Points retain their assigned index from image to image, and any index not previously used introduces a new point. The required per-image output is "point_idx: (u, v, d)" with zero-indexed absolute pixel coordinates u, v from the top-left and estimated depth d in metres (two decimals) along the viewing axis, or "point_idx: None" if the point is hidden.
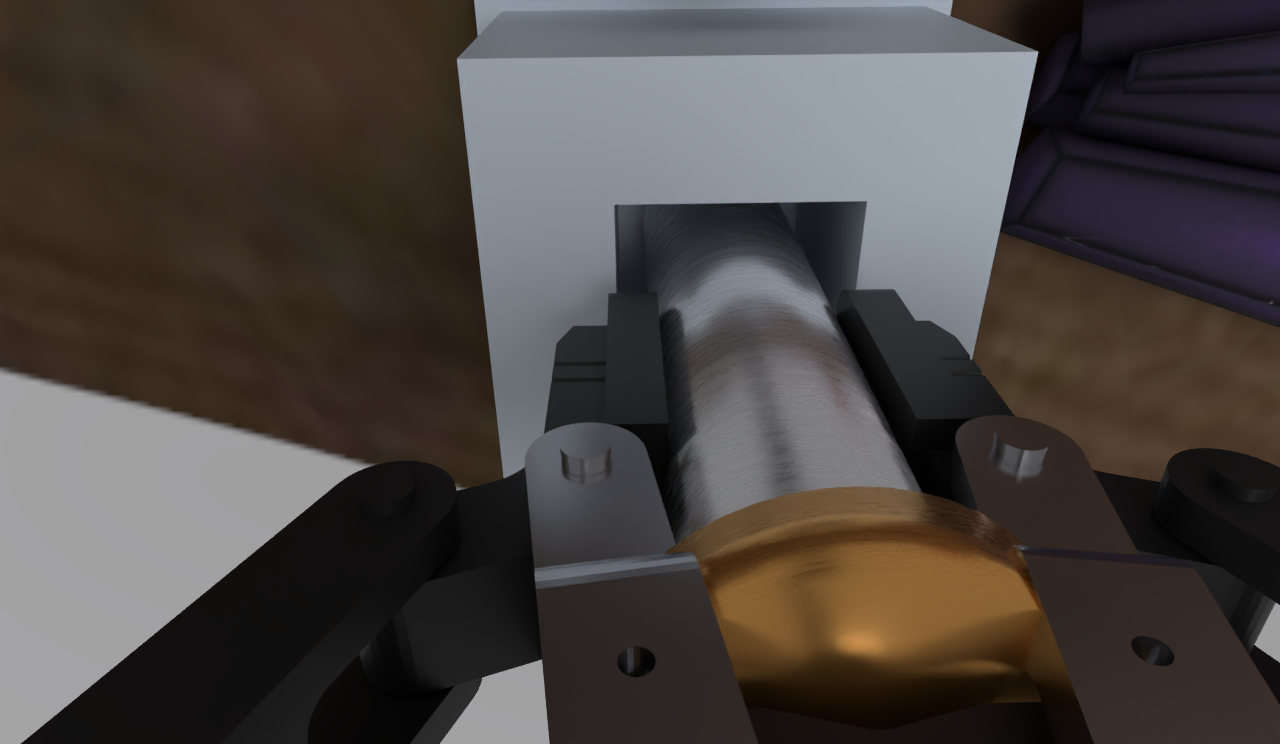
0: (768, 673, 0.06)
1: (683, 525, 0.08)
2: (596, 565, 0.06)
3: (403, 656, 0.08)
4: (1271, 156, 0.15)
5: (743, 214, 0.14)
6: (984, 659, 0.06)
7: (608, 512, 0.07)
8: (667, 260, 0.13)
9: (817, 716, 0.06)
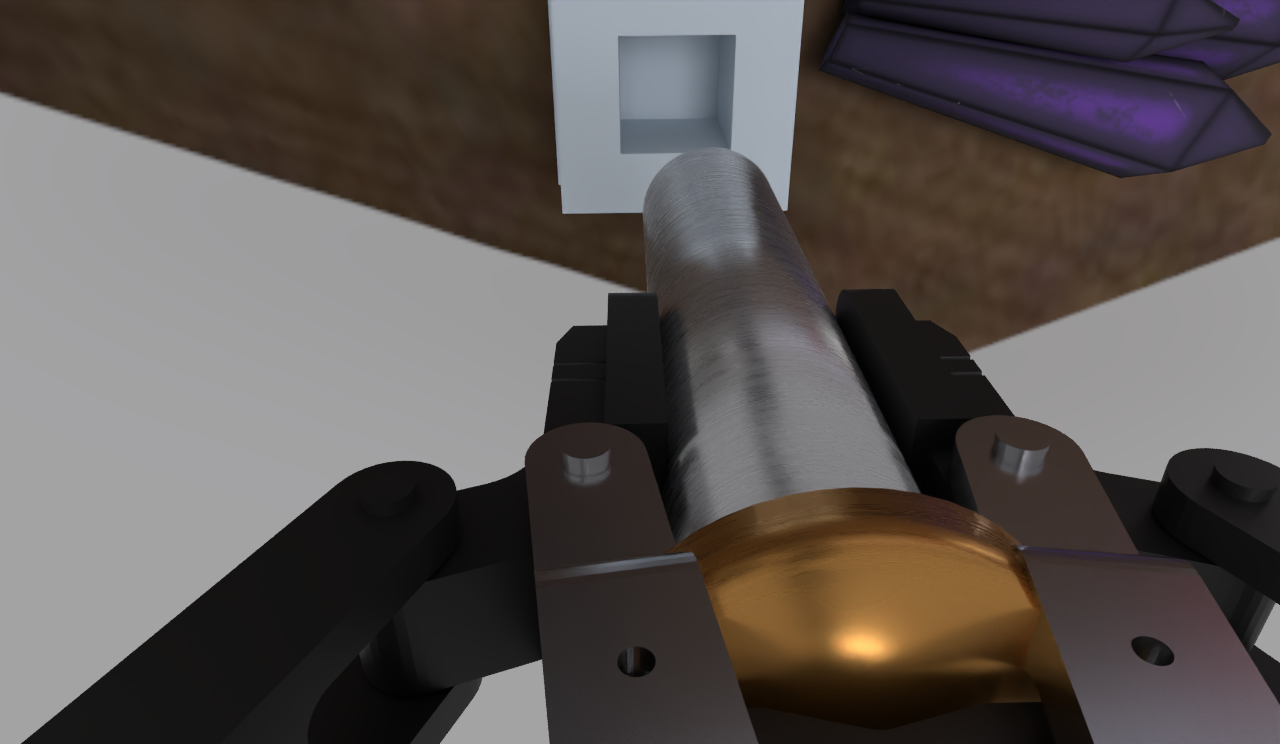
0: (767, 673, 0.06)
1: (683, 525, 0.08)
2: (596, 565, 0.06)
3: (403, 656, 0.08)
4: (949, 22, 0.29)
5: (743, 215, 0.14)
6: (982, 659, 0.06)
7: (608, 512, 0.07)
8: (668, 261, 0.13)
9: (816, 716, 0.06)
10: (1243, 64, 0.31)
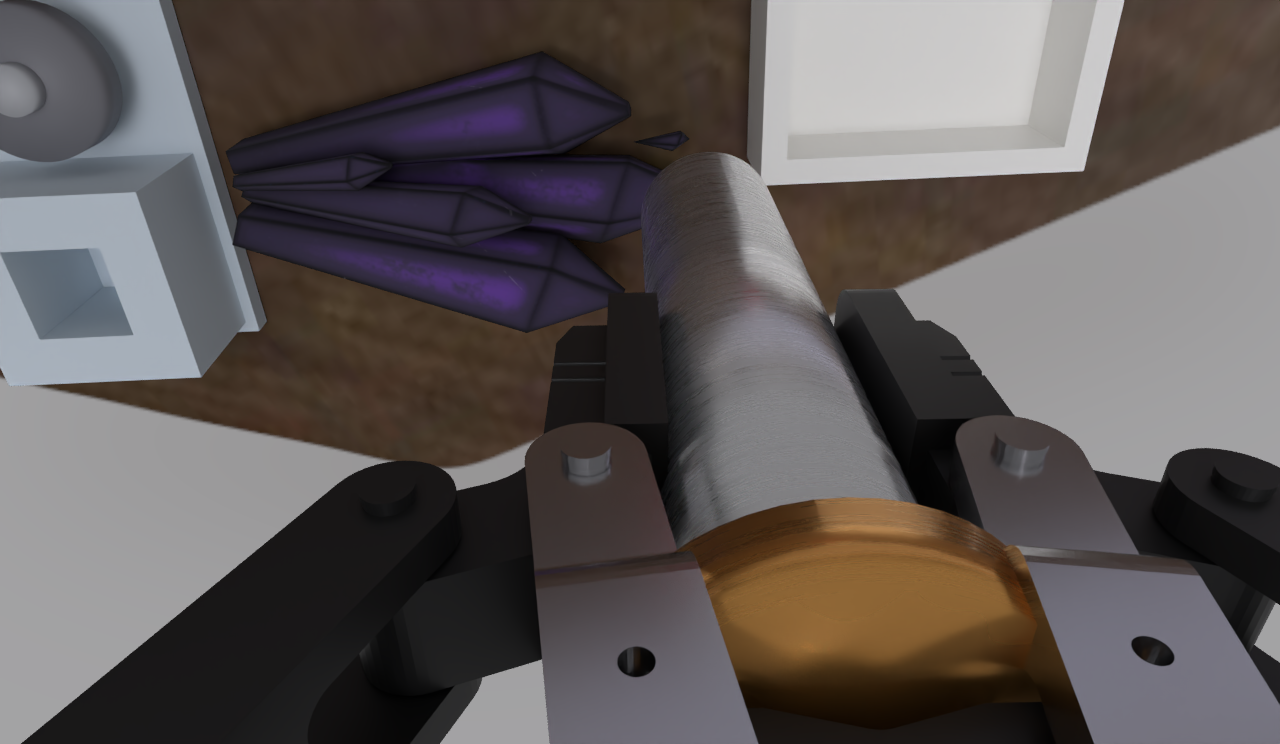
0: (761, 683, 0.06)
1: (679, 534, 0.08)
2: (596, 565, 0.06)
3: (403, 656, 0.08)
4: (317, 214, 0.34)
5: (740, 221, 0.14)
6: (975, 669, 0.06)
7: (608, 512, 0.07)
8: (665, 267, 0.13)
9: None
10: (602, 233, 0.36)
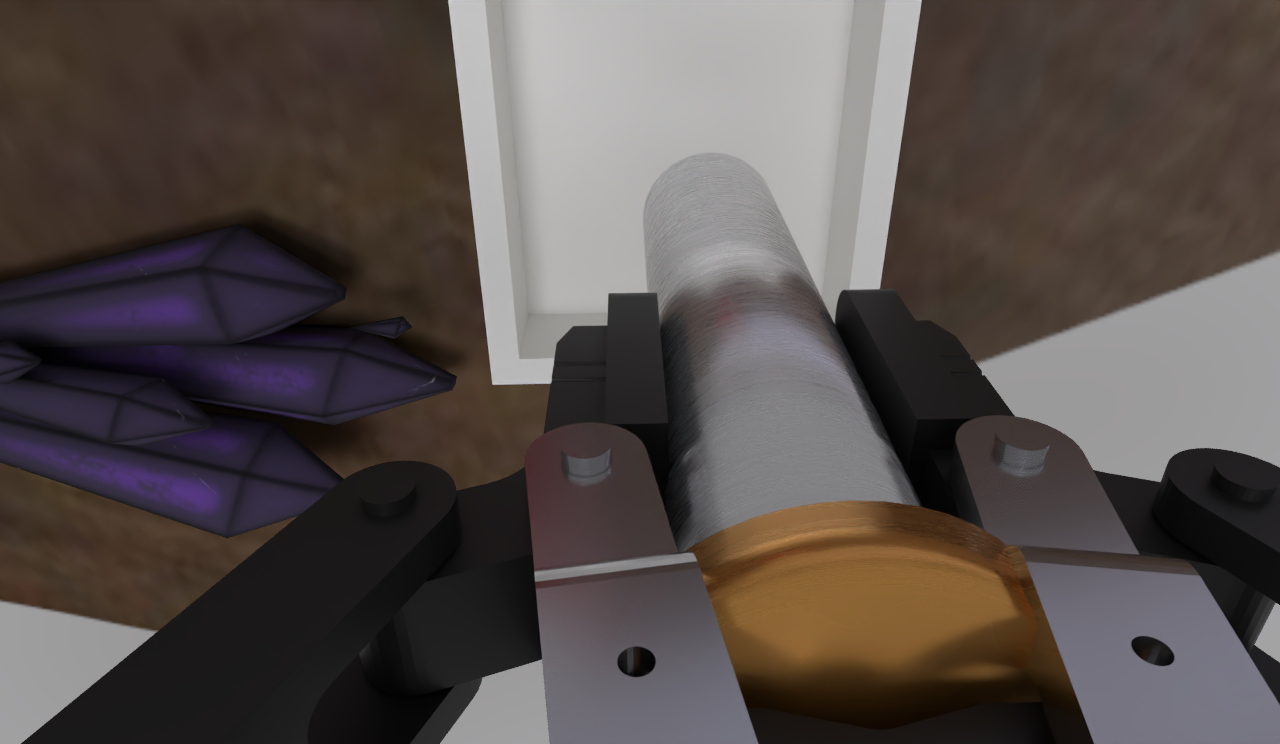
0: (767, 687, 0.06)
1: (683, 536, 0.08)
2: (596, 565, 0.06)
3: (403, 656, 0.08)
4: None
5: (743, 221, 0.14)
6: (981, 673, 0.06)
7: (608, 512, 0.07)
8: (668, 268, 0.13)
9: None
10: (326, 421, 0.31)
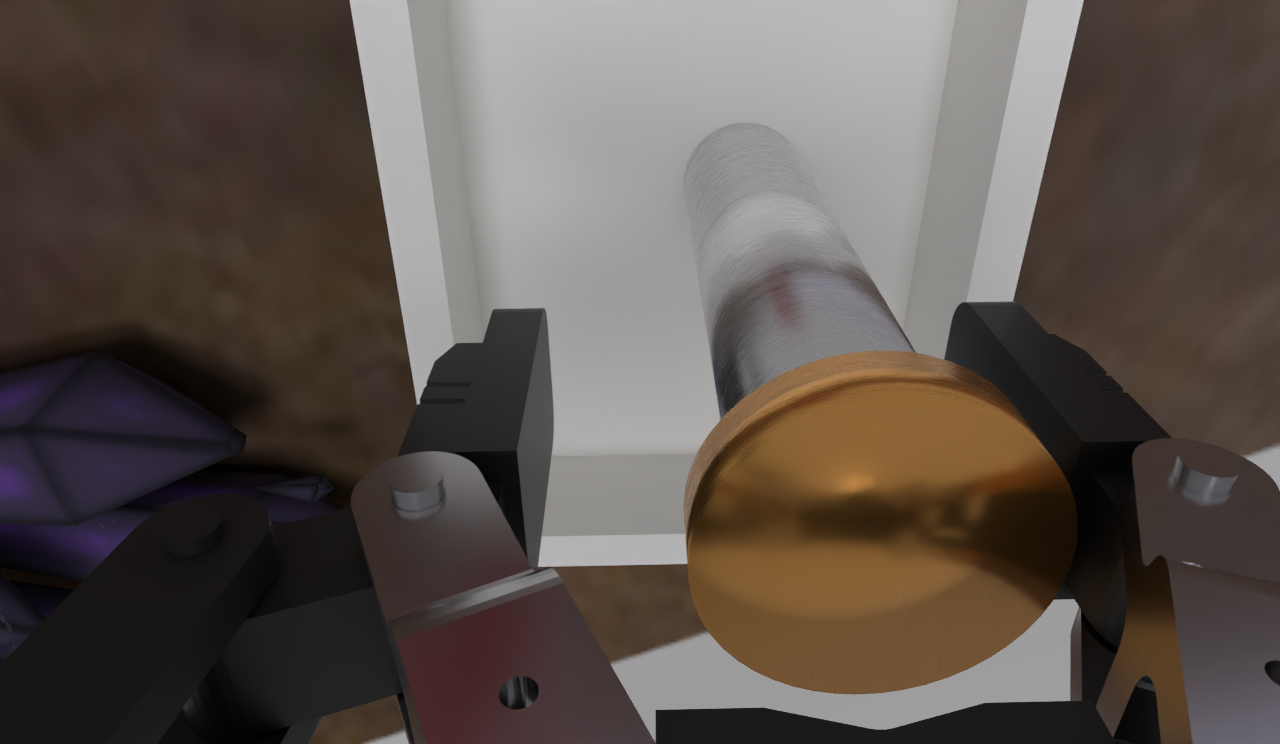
0: (817, 481, 0.08)
1: None
2: (455, 601, 0.06)
3: (235, 697, 0.07)
4: None
5: (778, 176, 0.16)
6: (978, 471, 0.08)
7: (423, 550, 0.07)
8: (713, 214, 0.15)
9: (852, 518, 0.08)
10: None
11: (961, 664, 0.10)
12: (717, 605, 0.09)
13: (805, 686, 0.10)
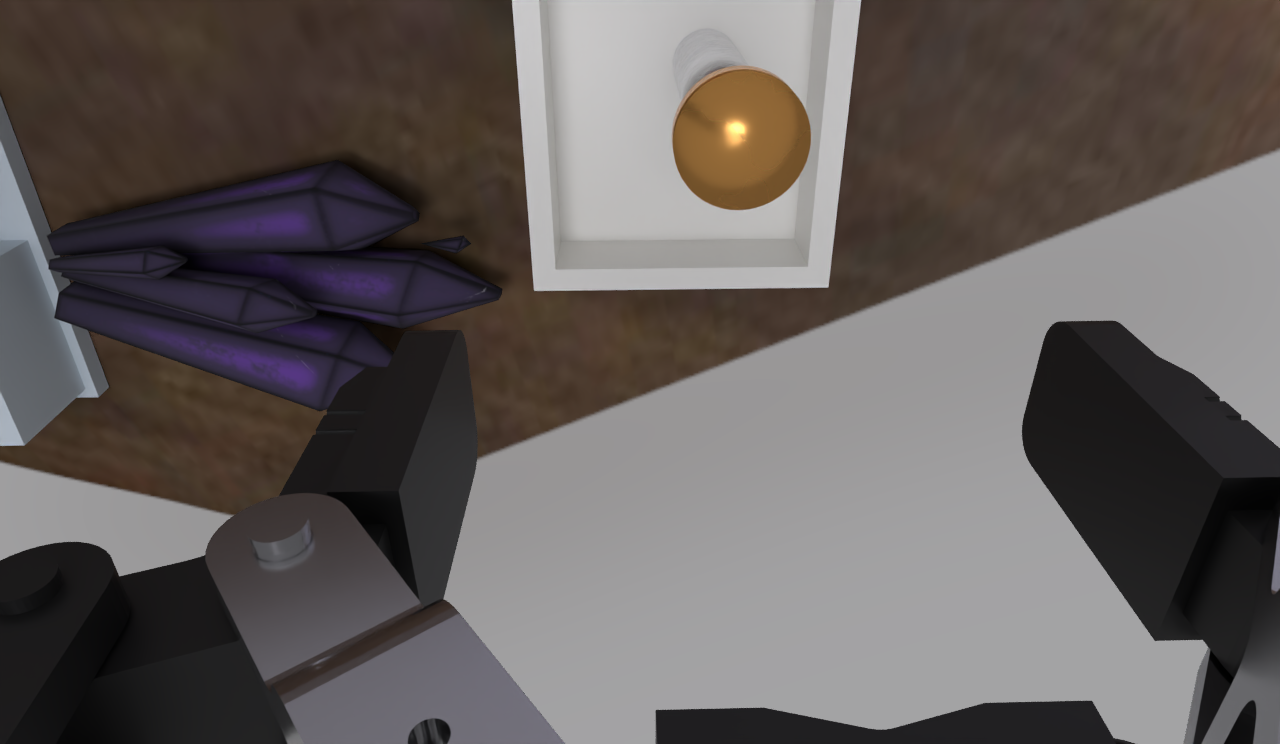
0: (717, 105, 0.24)
1: None
2: (344, 651, 0.06)
3: None
4: (129, 296, 0.37)
5: (719, 44, 0.32)
6: (772, 101, 0.24)
7: (271, 607, 0.07)
8: (687, 61, 0.31)
9: (730, 121, 0.24)
10: (398, 322, 0.39)
11: (776, 193, 0.25)
12: (683, 163, 0.25)
13: None
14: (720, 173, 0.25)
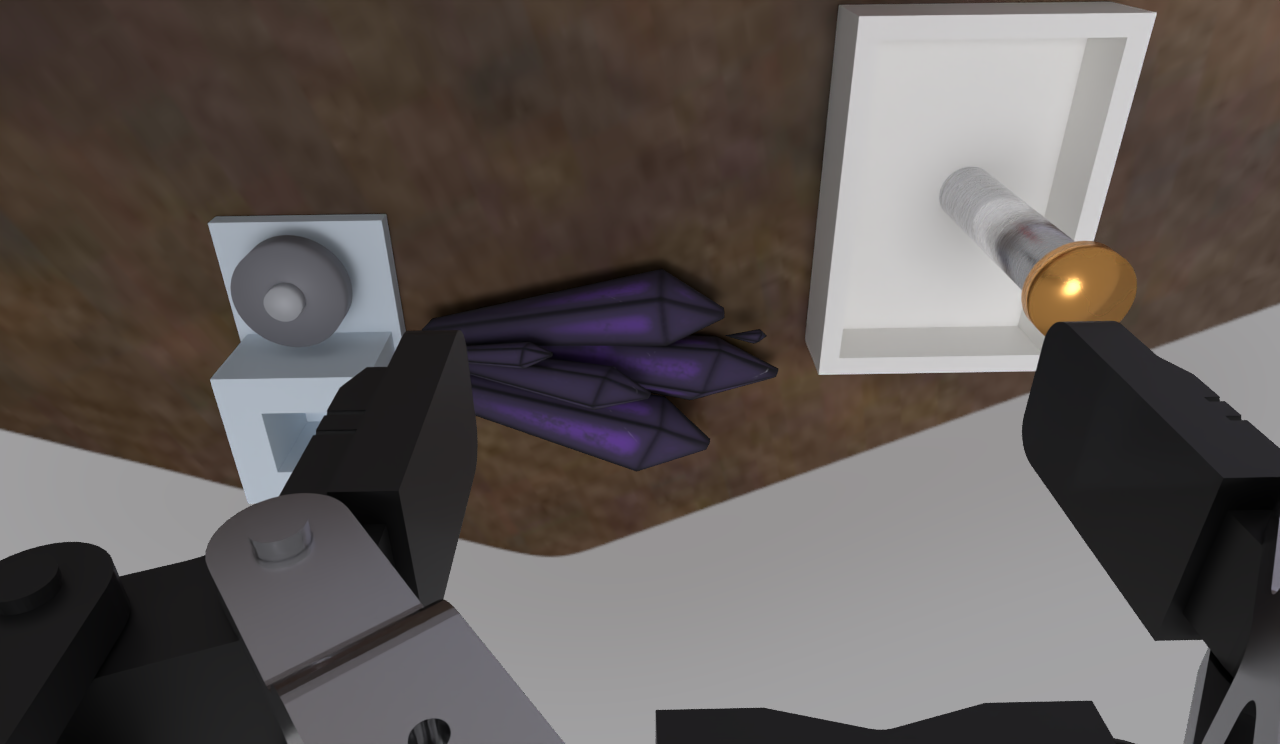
0: (1071, 272, 0.32)
1: (1033, 261, 0.34)
2: (345, 651, 0.06)
3: None
4: (486, 378, 0.46)
5: (1005, 191, 0.40)
6: (1112, 269, 0.32)
7: (270, 607, 0.07)
8: (982, 206, 0.40)
9: (1079, 283, 0.33)
10: (694, 396, 0.48)
11: None
12: (1037, 312, 0.33)
13: None
14: (1063, 318, 0.33)
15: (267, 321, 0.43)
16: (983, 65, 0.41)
